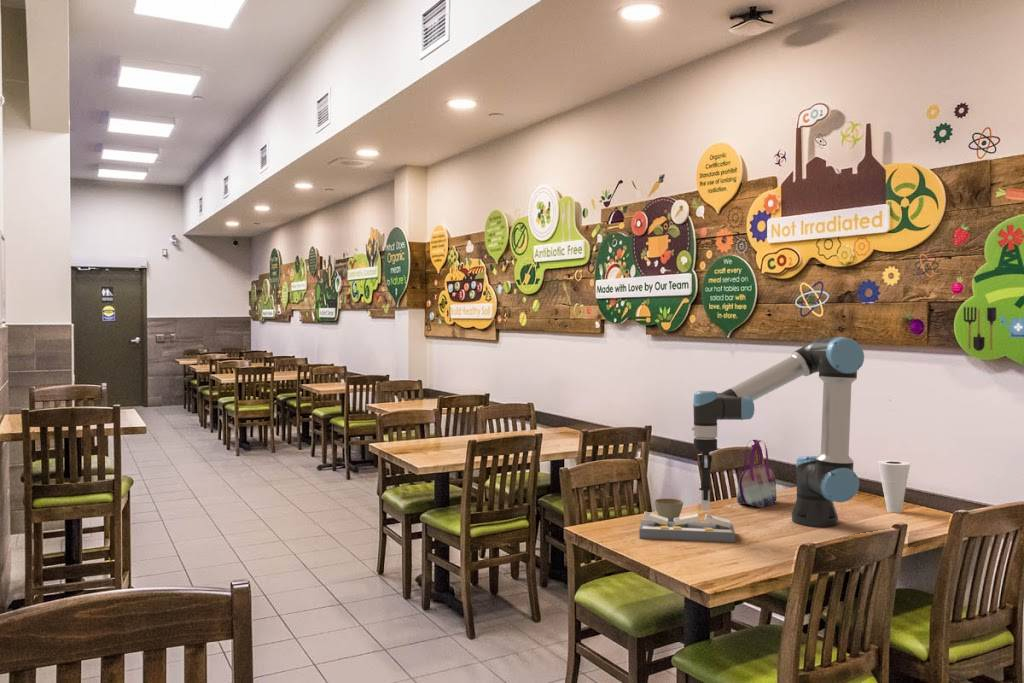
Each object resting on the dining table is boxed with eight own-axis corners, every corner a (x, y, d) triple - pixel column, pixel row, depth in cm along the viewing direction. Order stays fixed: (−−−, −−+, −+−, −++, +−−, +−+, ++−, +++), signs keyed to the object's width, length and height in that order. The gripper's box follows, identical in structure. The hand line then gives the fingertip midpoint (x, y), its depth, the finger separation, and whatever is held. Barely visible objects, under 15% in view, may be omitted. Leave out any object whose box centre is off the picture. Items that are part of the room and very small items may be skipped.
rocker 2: (698, 518, 248) (697, 513, 249) (699, 521, 245) (697, 515, 245) (674, 522, 250) (673, 517, 250) (674, 525, 246) (673, 520, 246)
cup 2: (916, 511, 274) (915, 463, 274) (901, 516, 268) (900, 466, 268) (888, 506, 283) (887, 459, 283) (872, 510, 277) (871, 462, 277)
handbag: (750, 510, 281) (749, 443, 281) (728, 505, 289) (727, 441, 289) (784, 502, 293) (783, 438, 293) (763, 498, 301) (762, 436, 301)
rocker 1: (666, 522, 251) (668, 518, 251) (666, 525, 247) (668, 520, 247) (643, 515, 252) (644, 510, 252) (642, 518, 249) (644, 513, 248)
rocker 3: (729, 524, 246) (730, 519, 246) (729, 527, 242) (730, 522, 242) (704, 518, 248) (705, 513, 248) (704, 521, 244) (706, 516, 244)
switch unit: (732, 532, 249) (732, 521, 249) (735, 542, 237) (734, 530, 237) (641, 529, 256) (641, 518, 256) (639, 538, 244) (639, 526, 244)
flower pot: (683, 525, 260) (683, 504, 260) (654, 524, 262) (654, 503, 262) (682, 518, 270) (682, 498, 270) (654, 517, 272) (654, 497, 272)
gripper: (693, 435, 253) (693, 504, 253) (693, 440, 240) (694, 513, 240) (716, 435, 251) (716, 505, 251) (718, 440, 239) (718, 514, 239)
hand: (705, 509), depth 246 cm, fingers closed
